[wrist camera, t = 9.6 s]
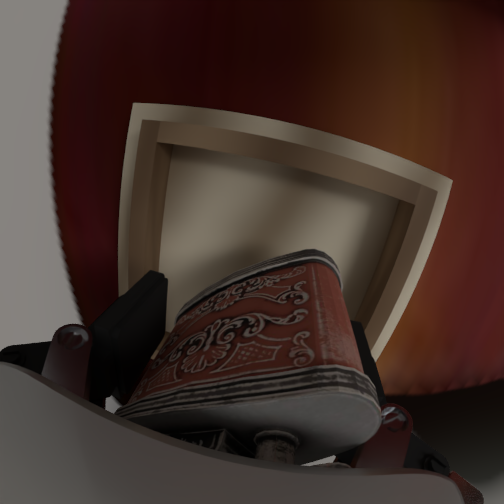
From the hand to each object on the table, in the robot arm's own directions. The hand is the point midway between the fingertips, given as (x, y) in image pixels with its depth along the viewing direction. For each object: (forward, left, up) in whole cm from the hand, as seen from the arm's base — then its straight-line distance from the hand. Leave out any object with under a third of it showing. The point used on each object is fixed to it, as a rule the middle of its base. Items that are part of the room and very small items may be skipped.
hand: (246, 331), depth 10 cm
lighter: (0, 0, -3) cm, 3 cm away
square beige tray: (0, 0, -6) cm, 6 cm away
